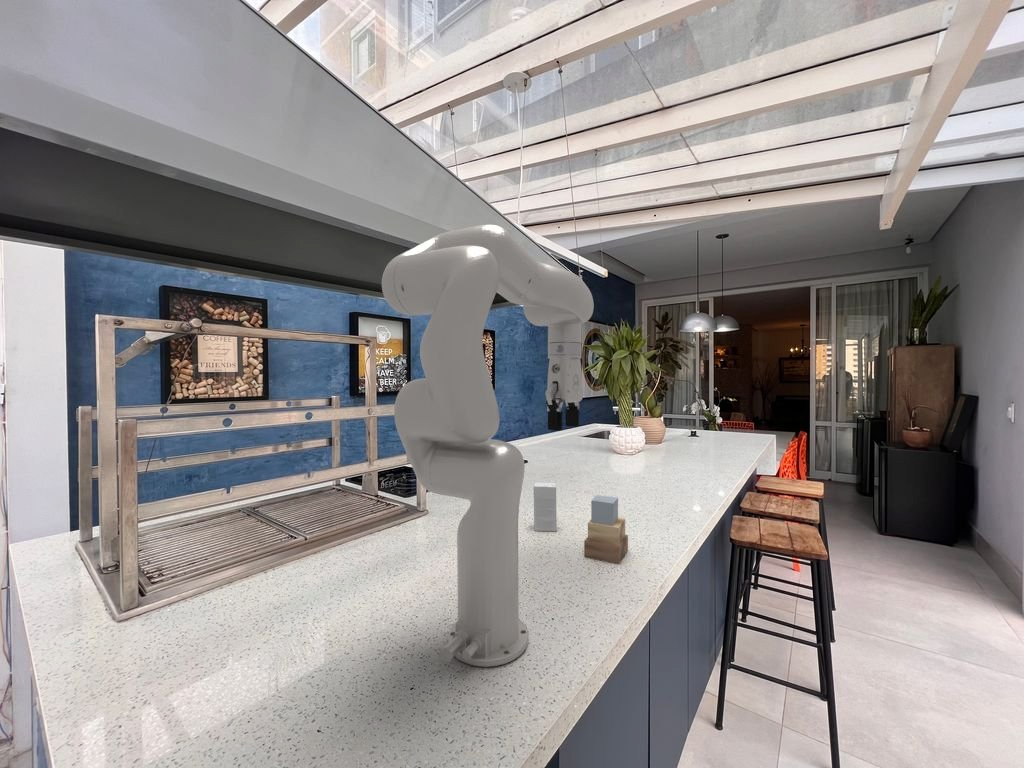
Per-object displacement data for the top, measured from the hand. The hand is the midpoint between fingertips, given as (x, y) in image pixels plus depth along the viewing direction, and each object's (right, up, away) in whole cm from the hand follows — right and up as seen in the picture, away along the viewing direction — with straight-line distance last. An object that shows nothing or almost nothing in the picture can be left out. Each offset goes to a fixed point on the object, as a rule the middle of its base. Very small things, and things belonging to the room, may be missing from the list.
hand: (563, 428), depth 95 cm
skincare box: (-3, -29, +19) cm, 35 cm away
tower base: (+10, -30, +3) cm, 32 cm away
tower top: (+10, -26, +3) cm, 28 cm away
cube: (+10, -22, +3) cm, 24 cm away
